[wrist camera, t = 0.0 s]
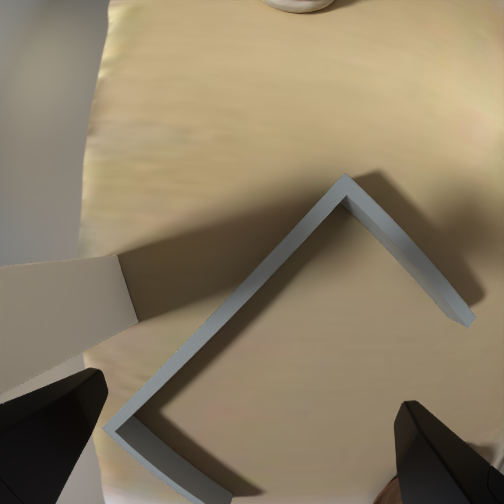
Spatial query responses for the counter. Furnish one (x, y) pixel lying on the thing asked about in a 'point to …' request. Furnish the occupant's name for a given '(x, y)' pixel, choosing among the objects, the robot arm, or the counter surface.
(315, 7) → the stacking toy
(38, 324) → the milk
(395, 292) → the counter surface
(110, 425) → the u-shaped low fence
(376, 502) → the cup and saucer
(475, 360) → the counter surface
